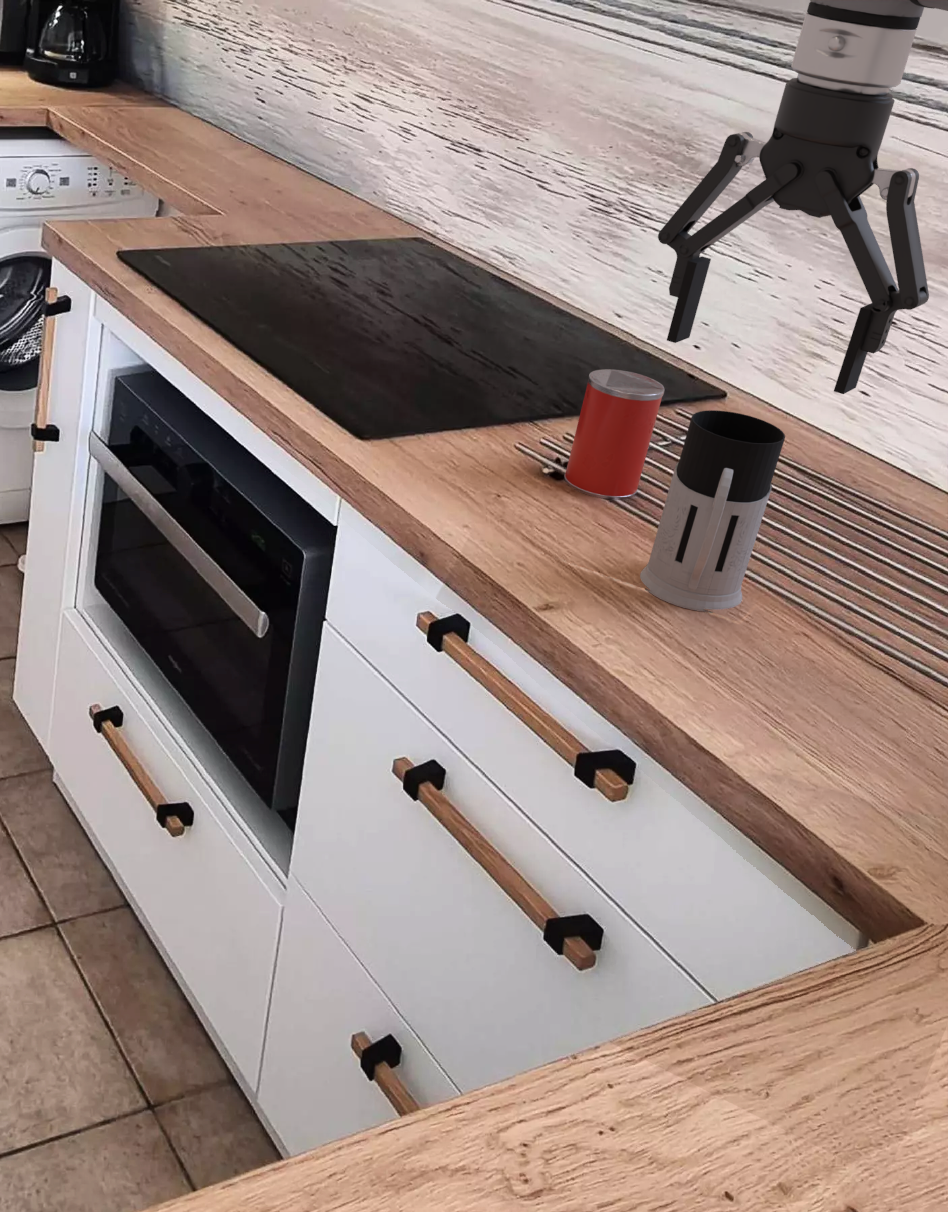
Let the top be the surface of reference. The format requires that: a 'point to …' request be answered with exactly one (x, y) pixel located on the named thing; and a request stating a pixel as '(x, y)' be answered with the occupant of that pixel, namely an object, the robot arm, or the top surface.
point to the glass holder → (713, 511)
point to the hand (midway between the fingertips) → (758, 364)
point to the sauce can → (613, 434)
